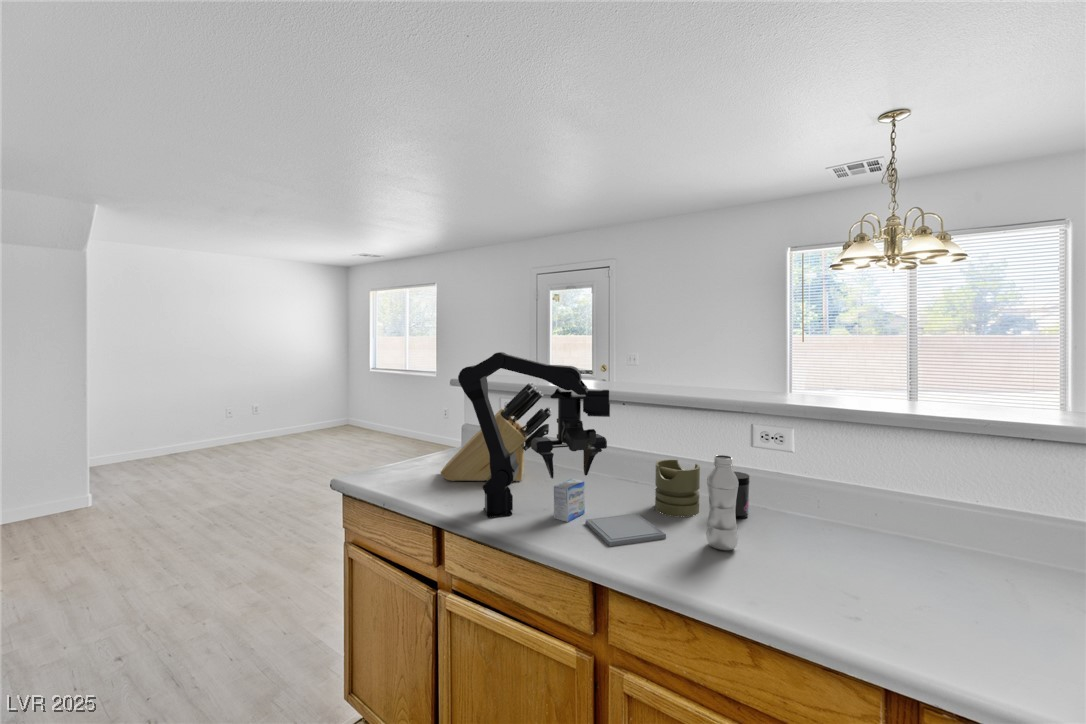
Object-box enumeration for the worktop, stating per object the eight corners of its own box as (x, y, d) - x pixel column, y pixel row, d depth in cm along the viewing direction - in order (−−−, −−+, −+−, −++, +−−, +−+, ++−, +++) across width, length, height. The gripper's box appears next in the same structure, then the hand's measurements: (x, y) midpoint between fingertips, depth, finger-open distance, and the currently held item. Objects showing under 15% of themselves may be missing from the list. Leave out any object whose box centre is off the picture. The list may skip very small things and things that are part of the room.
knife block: (551, 482, 158) (551, 384, 156) (440, 482, 158) (438, 384, 157) (551, 472, 169) (551, 381, 168) (447, 472, 170) (446, 381, 168)
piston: (685, 473, 125) (647, 464, 133) (685, 520, 126) (646, 509, 134) (707, 464, 133) (670, 457, 141) (707, 509, 133) (669, 499, 142)
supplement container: (744, 521, 125) (745, 480, 124) (717, 515, 129) (717, 475, 128) (752, 513, 130) (753, 474, 130) (725, 508, 134) (726, 469, 134)
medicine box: (567, 522, 124) (567, 488, 124) (553, 518, 127) (553, 485, 126) (585, 513, 130) (585, 480, 130) (570, 510, 133) (570, 478, 133)
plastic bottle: (723, 556, 105) (724, 462, 104) (699, 544, 111) (700, 455, 110) (744, 550, 108) (746, 458, 107) (720, 539, 114) (722, 452, 113)
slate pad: (609, 546, 110) (609, 541, 110) (585, 523, 124) (585, 519, 124) (665, 538, 114) (666, 533, 114) (636, 517, 128) (636, 512, 128)
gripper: (543, 423, 117) (543, 489, 118) (616, 419, 122) (616, 482, 123) (530, 415, 127) (530, 476, 128) (598, 412, 133) (597, 470, 134)
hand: (569, 476), depth 128 cm, fingers open, 9 cm apart
